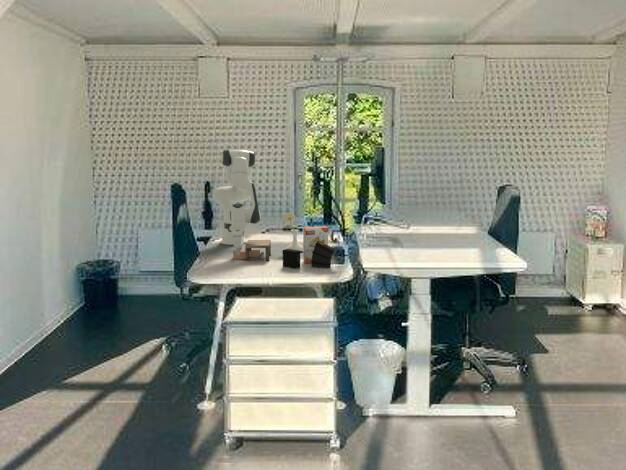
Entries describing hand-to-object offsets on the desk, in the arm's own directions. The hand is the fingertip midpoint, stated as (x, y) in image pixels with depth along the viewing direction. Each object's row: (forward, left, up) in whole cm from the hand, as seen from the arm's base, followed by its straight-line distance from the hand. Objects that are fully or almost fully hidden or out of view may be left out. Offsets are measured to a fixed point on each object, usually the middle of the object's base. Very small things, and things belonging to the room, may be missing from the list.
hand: (239, 253), depth 417 cm
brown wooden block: (0, +5, -3) cm, 5 cm away
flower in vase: (-19, +33, -3) cm, 38 cm away
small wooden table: (0, +12, -3) cm, 12 cm away
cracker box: (+13, +47, -3) cm, 49 cm away
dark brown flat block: (+27, +51, -3) cm, 58 cm away
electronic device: (+26, +33, -3) cm, 42 cm away
